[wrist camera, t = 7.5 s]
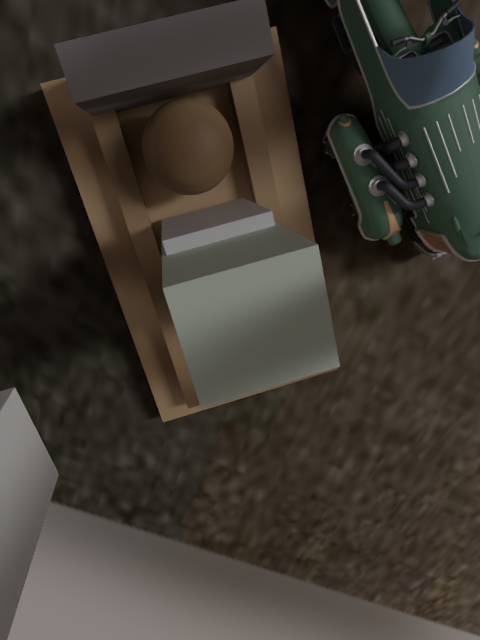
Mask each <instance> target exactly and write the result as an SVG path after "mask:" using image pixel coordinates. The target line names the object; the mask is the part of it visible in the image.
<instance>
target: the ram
mask: <svg viewBox="0 0 480 640" xmlns="http://www.w3.org/2000/svg"><path fill="white" fill-rule="evenodd" d="M161 221H162V231H161V245H162V288H163V291H164V295H165V298H166V301H167V304H168V307H169V310H170V313H171V316H172V319H173V323H174V326H175V329H176V332H177V335H178V338H179V341H180V344H181V348H182V351H183V354H184V357H185V360H186V363H187V366H188V369H189V372H190V376H191V379H192V382H193V385H194V388H195V391H196V394H197V397H198V400H199V404H200V407H201V409H202V408H205V407H208V406H212V405H215V404H218V403H221V402H225V401H228V400H231V399H235V398H238V397H241V396H245V395H248V394H251V393H254V392H258V391H261V390H264V389H268V388H271V387H274V386H277V385H281V384H284V383H287V382H291V381H294V380H297V379H300V378H304V377H307V376H310V375H314V374H317V373H320V372H323V371H327V370H330V369H333V368H337V367H340V364H339V358H338V352H337V347H336V341H335V336H334V330H333V325H332V319H331V313H330V308H329V302H328V297H327V291H326V285H325V280H324V274H323V269H322V263H321V257H320V252H319V246H318V244H316V243H315V242H313V241H311V240H309V239H307V238H305V237H303V236H301V235H299V234H298V233H296V232H294V231H292V230H290V229H288V228H286V227H284V226H283V225H281V224H279V223H277V222H275V221H274V217H273V213H272V211H271V210H269V209H267V208H265V207H262V206H260V205H258V204H256V203H253V202H251V201H249V200H247V199H245V198H239V199H236V200H232V201H228V202H224V203H221V204H217V205H213V206H210V207H206V208H202V209H199V210H195V211H191V212H188V213H184V214H180V215H176V216H173V217H169V218H165V219H162V220H161Z"/></svg>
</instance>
